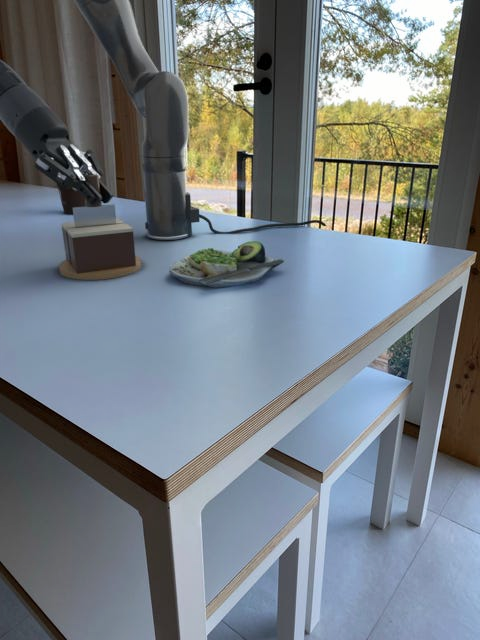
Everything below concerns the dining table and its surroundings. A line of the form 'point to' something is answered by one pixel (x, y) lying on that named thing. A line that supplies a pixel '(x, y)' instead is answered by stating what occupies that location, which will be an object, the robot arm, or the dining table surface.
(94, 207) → the cake cutter
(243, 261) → the salad plate
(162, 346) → the dining table surface
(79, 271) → the cake
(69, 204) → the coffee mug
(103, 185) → the robot arm
